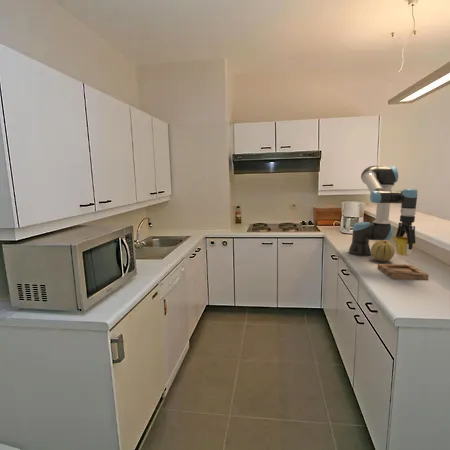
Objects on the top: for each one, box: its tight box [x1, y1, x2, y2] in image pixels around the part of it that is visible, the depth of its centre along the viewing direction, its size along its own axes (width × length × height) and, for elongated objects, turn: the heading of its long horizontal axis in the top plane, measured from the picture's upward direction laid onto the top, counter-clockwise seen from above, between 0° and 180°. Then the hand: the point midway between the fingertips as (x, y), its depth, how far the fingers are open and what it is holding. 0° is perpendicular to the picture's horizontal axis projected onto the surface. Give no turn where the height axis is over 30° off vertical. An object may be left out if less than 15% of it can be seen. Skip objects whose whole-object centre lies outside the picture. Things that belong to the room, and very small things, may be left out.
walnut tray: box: [377, 263, 430, 281], centre depth 193 cm, size 20×20×3 cm
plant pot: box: [394, 236, 416, 257], centre depth 191 cm, size 10×10×10 cm
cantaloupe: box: [370, 240, 395, 263], centre depth 219 cm, size 15×15×15 cm
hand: (403, 252), depth 191 cm, fingers closed on plant pot, 10 cm apart
